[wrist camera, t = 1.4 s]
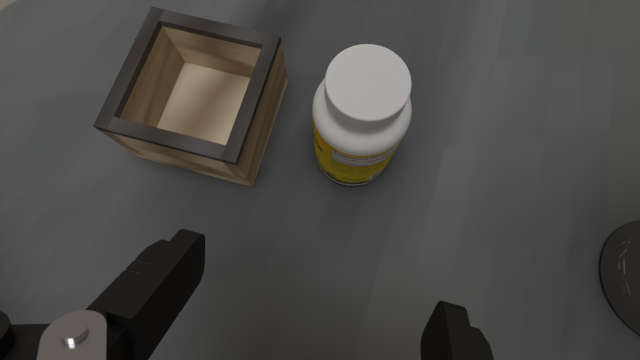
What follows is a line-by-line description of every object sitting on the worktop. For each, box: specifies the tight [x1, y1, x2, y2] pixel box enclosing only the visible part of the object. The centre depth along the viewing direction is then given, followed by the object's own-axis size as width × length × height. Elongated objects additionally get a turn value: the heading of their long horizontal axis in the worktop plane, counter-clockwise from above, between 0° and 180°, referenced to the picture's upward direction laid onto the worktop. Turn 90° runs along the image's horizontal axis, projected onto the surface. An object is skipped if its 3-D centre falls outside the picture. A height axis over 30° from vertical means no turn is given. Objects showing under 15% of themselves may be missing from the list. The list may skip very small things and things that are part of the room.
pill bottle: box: [312, 44, 412, 186], centre depth 24 cm, size 6×6×11 cm
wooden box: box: [93, 7, 288, 187], centre depth 27 cm, size 10×10×6 cm
